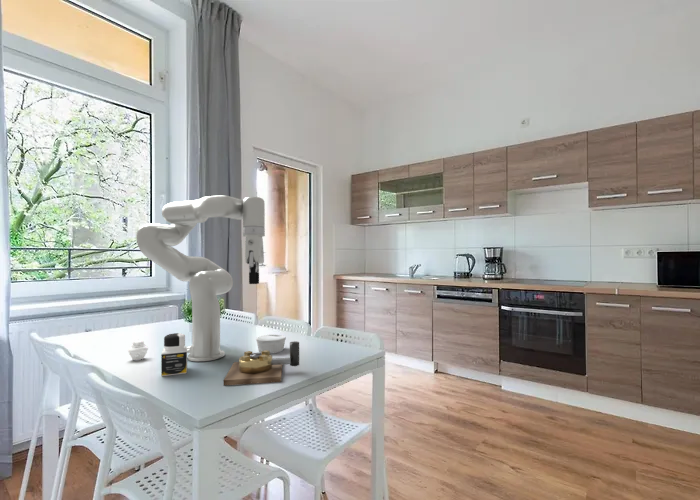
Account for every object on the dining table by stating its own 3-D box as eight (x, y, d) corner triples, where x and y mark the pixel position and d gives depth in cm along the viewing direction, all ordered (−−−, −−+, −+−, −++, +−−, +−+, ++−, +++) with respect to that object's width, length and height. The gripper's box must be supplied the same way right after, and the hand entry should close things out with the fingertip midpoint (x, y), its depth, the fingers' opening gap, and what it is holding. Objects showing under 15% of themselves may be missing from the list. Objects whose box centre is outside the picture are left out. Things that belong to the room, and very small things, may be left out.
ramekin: (288, 347, 145) (288, 334, 145) (282, 354, 134) (282, 340, 134) (260, 347, 145) (260, 334, 145) (252, 354, 134) (252, 340, 134)
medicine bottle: (161, 376, 109) (161, 337, 110) (163, 370, 116) (163, 333, 116) (186, 373, 112) (186, 335, 112) (187, 367, 119) (187, 331, 119)
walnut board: (223, 385, 101) (223, 380, 101) (234, 366, 119) (234, 362, 119) (280, 381, 103) (280, 376, 104) (282, 363, 121) (282, 359, 121)
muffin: (126, 359, 129) (126, 340, 129) (145, 356, 133) (145, 337, 133) (131, 362, 125) (131, 342, 125) (150, 359, 129) (150, 339, 129)
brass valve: (236, 373, 106) (236, 348, 106) (242, 364, 116) (242, 341, 116) (299, 370, 108) (299, 346, 108) (299, 361, 118) (299, 338, 118)
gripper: (260, 230, 120) (261, 285, 119) (267, 233, 134) (268, 282, 134) (238, 230, 119) (238, 285, 119) (247, 233, 134) (247, 282, 133)
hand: (254, 283), depth 126 cm, fingers closed
